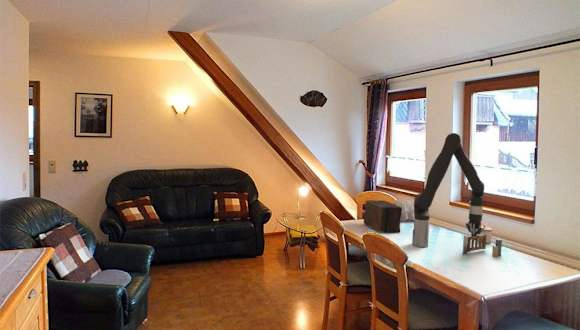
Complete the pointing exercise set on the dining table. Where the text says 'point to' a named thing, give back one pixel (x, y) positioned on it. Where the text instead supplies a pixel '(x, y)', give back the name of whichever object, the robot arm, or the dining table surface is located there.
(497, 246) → the post
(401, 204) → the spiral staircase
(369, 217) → the decorative box
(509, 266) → the dining table surface
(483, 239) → the walnut gate
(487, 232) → the teacup with lid
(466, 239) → the hinge post
